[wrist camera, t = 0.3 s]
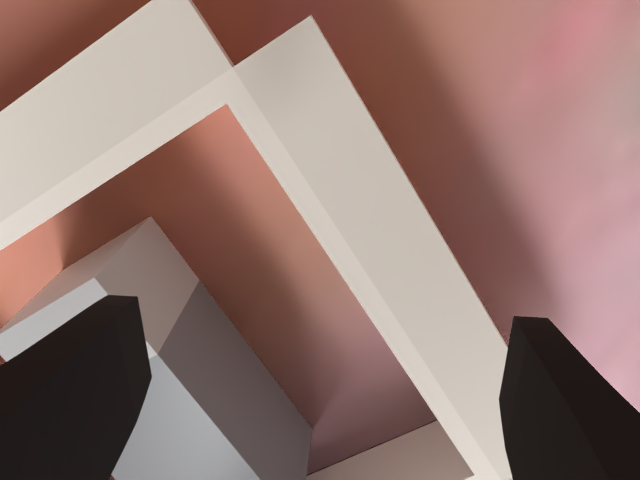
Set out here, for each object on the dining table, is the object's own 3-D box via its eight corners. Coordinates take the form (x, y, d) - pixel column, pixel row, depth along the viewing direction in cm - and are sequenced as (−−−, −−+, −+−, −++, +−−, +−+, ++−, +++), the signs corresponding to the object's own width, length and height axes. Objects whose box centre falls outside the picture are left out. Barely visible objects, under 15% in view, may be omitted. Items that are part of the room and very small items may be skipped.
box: (227, 467, 27) (198, 568, 22) (62, 270, 23) (-13, 341, 19) (312, 428, 26) (299, 527, 21) (151, 215, 22) (94, 277, 18)
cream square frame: (142, 604, 31) (115, 678, 27) (-191, 270, 24) (-276, 315, 21) (570, 436, 25) (600, 504, 21) (276, -68, 18) (255, -77, 15)
